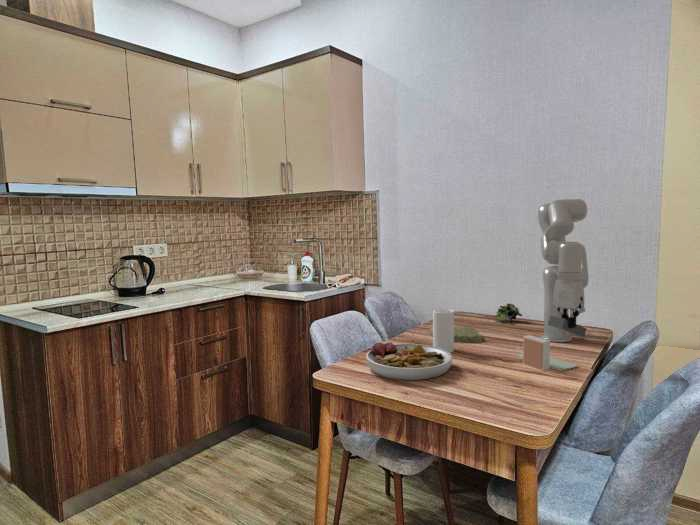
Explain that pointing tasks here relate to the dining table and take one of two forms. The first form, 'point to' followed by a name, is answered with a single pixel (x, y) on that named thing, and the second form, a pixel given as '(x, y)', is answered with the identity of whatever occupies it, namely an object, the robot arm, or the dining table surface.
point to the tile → (536, 352)
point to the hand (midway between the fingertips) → (568, 326)
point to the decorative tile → (464, 334)
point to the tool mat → (556, 363)
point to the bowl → (408, 361)
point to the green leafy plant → (507, 312)
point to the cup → (443, 329)
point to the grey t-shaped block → (566, 326)
